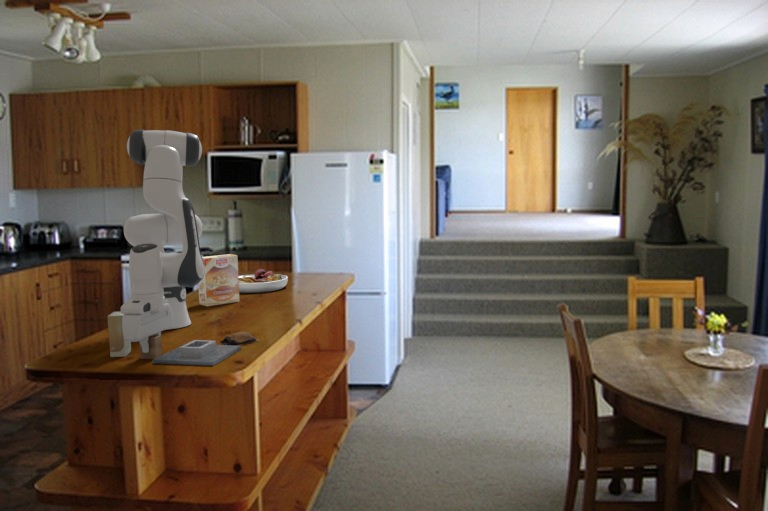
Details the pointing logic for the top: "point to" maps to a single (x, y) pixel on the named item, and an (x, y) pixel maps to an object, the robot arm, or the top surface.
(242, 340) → the bread roll
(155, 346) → the walnut peg
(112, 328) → the skincare box
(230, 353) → the metal duct collar
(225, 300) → the coffeecake box
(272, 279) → the bowl
